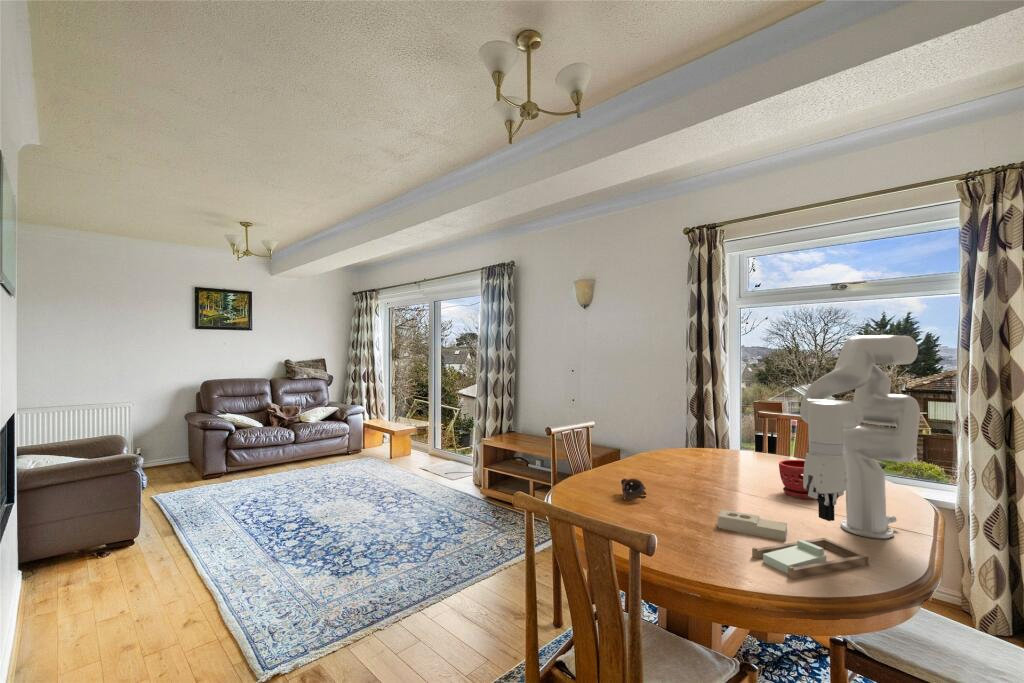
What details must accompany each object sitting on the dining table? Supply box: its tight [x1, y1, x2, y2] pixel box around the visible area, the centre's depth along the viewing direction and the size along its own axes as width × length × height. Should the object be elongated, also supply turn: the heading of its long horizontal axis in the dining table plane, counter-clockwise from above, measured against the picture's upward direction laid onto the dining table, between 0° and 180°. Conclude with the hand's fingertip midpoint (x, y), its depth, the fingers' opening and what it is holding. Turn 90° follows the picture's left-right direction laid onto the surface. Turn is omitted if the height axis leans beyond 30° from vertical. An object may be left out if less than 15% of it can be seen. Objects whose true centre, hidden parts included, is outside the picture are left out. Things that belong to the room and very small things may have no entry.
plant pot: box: [778, 459, 813, 500], centre depth 172 cm, size 13×13×12 cm
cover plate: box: [762, 539, 827, 575], centre depth 119 cm, size 14×7×4 cm, turn 112°
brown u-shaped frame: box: [751, 537, 870, 580], centre depth 120 cm, size 24×12×2 cm, turn 106°
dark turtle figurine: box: [620, 478, 647, 500], centre depth 172 cm, size 12×10×8 cm
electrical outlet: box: [717, 509, 788, 542], centre depth 140 cm, size 7×4×18 cm
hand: (826, 519), depth 121 cm, fingers closed
